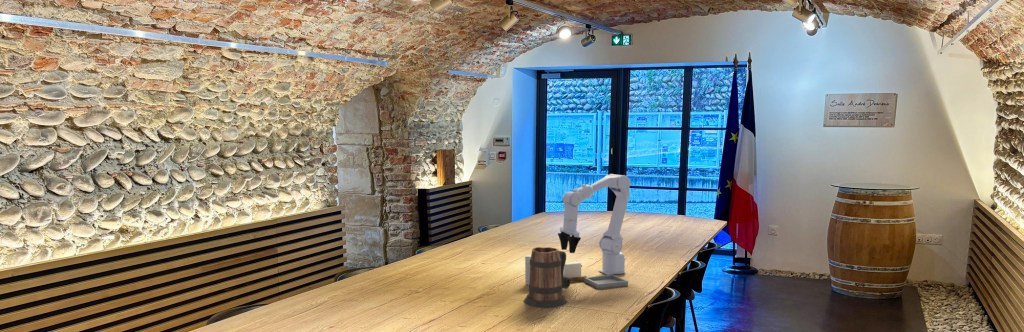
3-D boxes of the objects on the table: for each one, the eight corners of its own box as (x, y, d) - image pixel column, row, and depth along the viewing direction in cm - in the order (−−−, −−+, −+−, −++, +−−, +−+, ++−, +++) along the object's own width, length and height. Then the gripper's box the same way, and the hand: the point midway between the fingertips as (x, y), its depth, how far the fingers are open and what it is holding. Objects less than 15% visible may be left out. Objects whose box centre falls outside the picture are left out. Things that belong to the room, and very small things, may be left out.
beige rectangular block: (578, 276, 281) (578, 261, 281) (582, 278, 278) (582, 262, 277) (560, 278, 278) (560, 262, 277) (564, 280, 274) (564, 264, 274)
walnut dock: (573, 274, 285) (573, 270, 285) (586, 280, 274) (586, 276, 274) (552, 276, 281) (552, 272, 281) (564, 283, 270) (564, 278, 270)
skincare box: (541, 283, 270) (541, 255, 269) (538, 286, 266) (538, 257, 265) (528, 282, 272) (528, 254, 271) (524, 284, 268) (524, 256, 267)
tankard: (549, 310, 232) (550, 256, 231) (514, 302, 243) (513, 250, 241) (586, 296, 250) (586, 246, 248) (551, 289, 261) (551, 240, 259)
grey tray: (612, 279, 277) (613, 274, 277) (628, 285, 266) (628, 281, 266) (584, 282, 272) (584, 277, 272) (598, 289, 261) (598, 284, 260)
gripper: (554, 217, 281) (552, 248, 282) (569, 222, 268) (567, 254, 268) (569, 217, 284) (566, 248, 284) (584, 222, 270) (582, 254, 271)
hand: (568, 251), depth 276 cm, fingers open, 7 cm apart
